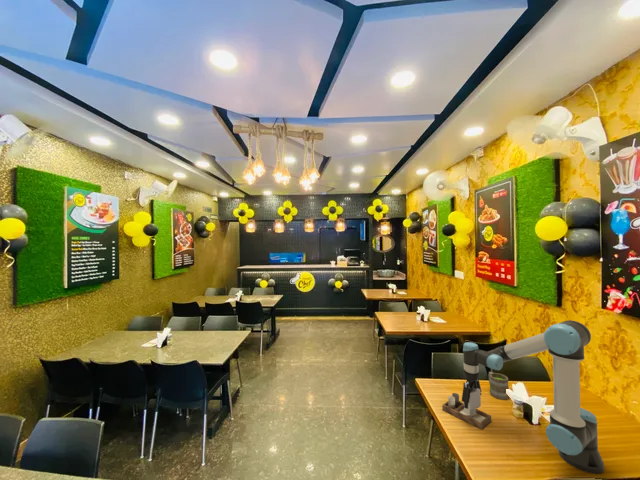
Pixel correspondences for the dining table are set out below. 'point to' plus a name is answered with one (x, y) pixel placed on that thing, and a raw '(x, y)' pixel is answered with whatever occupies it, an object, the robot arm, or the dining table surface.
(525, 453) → the dining table surface
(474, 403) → the charger
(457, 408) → the caddy
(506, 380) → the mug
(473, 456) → the dining table surface
